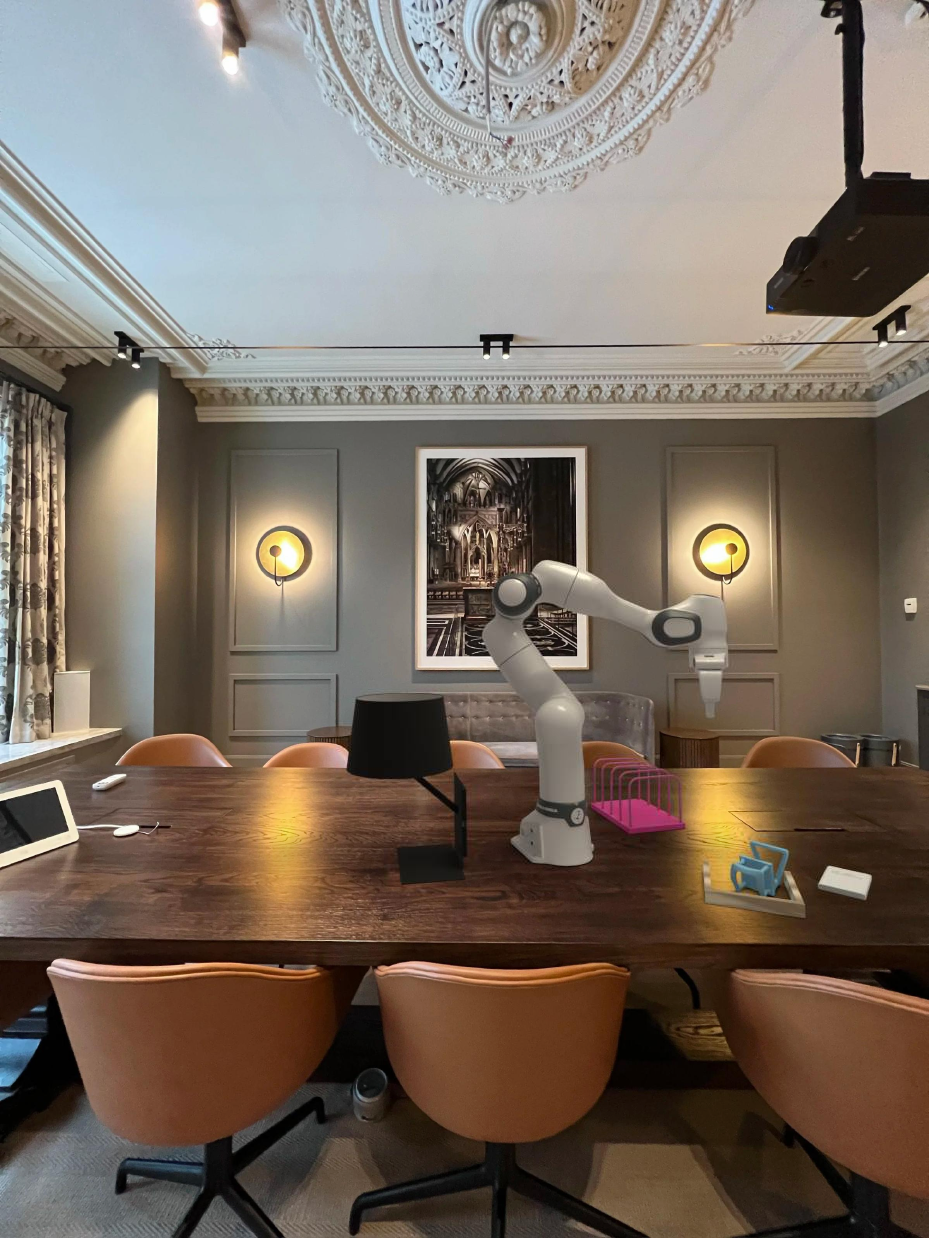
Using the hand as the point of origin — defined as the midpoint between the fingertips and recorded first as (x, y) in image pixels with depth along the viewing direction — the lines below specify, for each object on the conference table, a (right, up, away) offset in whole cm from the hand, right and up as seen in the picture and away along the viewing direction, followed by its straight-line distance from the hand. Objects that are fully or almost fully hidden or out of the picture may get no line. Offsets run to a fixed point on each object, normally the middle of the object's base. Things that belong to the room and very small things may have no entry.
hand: (710, 717), depth 135 cm
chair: (+7, -29, -15) cm, 33 cm away
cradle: (0, -33, -19) cm, 38 cm away
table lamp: (-74, -35, -3) cm, 82 cm away
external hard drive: (+22, -34, -16) cm, 43 cm away
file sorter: (-9, -36, +31) cm, 48 cm away
